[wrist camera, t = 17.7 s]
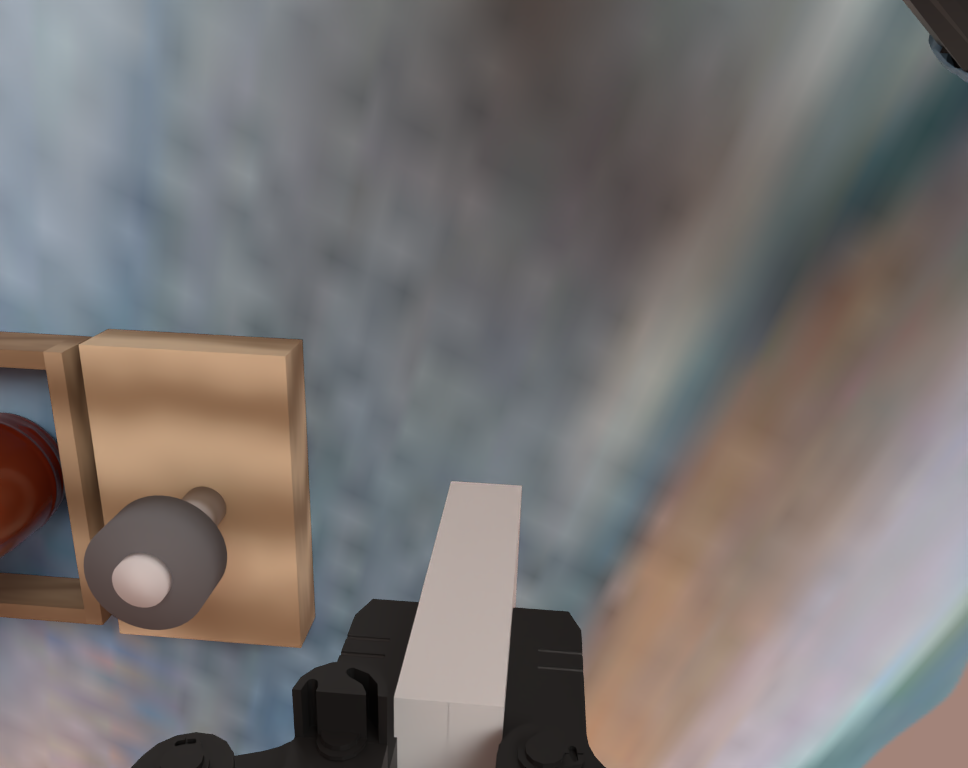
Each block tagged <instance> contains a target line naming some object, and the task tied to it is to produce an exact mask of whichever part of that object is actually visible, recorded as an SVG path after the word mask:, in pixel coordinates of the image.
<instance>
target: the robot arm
mask: <svg viewBox="0 0 968 768" xmlns="http://www.w3.org/2000/svg"><path fill="white" fill-rule="evenodd" d="M903 1H904V3H905V4H906V5H907V6H908V8H909V9H910V10H911V11H912V13H913V14H914V15H915V16H916V18H917V19H918V20H919V21H920V23H921V24H922V25H923V26H924V27H925V29H926V30H927V31H928V32H929V34H930V35H929V44H930V47H931V49H932V50H933V52H934V54H935V55H936V57H937V58H938V60H939V61H940V62H941V64H942V65H943V66H944V67H945V68H946V69H948V70H949V71H950V72H951V73H954V74H956V75H958V76H959V77H960V78H961V79H963V80H964V81H965V82H968V0H903ZM521 492H522V486H517V485H502V484H486V483H471V482H456V481H451V484H450V488H449V492H448V495H447V499H446V503H445V507H444V510H443V514H442V518H441V522H440V526H439V529H438V533H437V537H436V541H435V544H434V548H433V552H432V556H431V559H430V563H429V567H428V571H427V574H426V578H425V582H424V586H423V590H422V593H421V597H420V601H419V602H408V601H394V600H381V599H372V600H371V601H370V602H369V603H368V604H367V605H366V606H365V607H364V608H363V609H361V610H360V611H359V612H358V613H357V614H356V615H355V617H354V620H353V622H352V625H351V627H350V630H349V633H348V637H347V639H346V640H345V643H344V646H343V648H342V651H341V655H340V656H339V659H338V661H337V662H332V663H329V664H326V665H323V666H319V667H316V668H314V669H313V670H311V671H310V672H308V673H307V674H305V675H304V676H302V677H301V678H300V679H299V681H298V682H297V683H296V685H295V686H294V687H293V689H292V696H293V713H294V729H295V738H294V740H293V741H291V742H289V743H286V744H284V745H282V746H280V747H277V748H273V749H269V750H266V751H261V752H255V753H249V754H244V755H238V756H234V753H233V751H232V750H231V748H230V746H229V745H228V743H227V742H226V741H224V740H223V739H221V738H219V737H217V736H215V735H213V734H205V733H197V732H195V733H189V734H183V735H177V736H175V737H172V738H170V739H168V740H165V741H163V742H161V743H158V744H157V745H156V746H154V747H153V748H152V749H151V750H149V751H148V752H147V753H145V754H144V755H143V756H142V757H141V758H140V759H139V760H138V761H137V762H136V763H135V764H134V765H133V766H132V767H131V768H606V767H604V766H603V765H602V764H601V763H600V762H599V760H598V759H597V758H596V757H595V756H594V754H593V752H592V750H591V749H590V747H589V744H588V740H587V735H586V716H585V696H584V676H583V657H582V637H581V630H580V628H579V627H578V625H577V624H576V622H575V621H574V619H573V618H572V616H571V615H570V613H569V612H566V611H553V610H539V609H526V608H515V603H516V586H517V568H518V549H519V530H520V511H521Z"/></svg>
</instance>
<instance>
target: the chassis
mask: <svg viewBox="0 0 968 768" xmlns="http://www.w3.org/2000/svg"><path fill="white" fill-rule="evenodd" d="M0 367H8V368H25V369H42V370H46V373H47V379H48V386H49V392H50V398H51V404H52V411H53V417H54V423H55V429H56V436H57V442H58V448H59V454H60V461H61V467H62V473H63V479H64V486H65V492H66V498H67V504H68V511H69V517H70V523H71V529H72V536H73V542H74V548H75V554H76V561H77V567H78V573H79V579H78V578H64V577H51V576H38V575H25V574H12V573H0V617H8V618H21V619H33V620H46V621H58V622H71V623H83V624H96V625H103V624H104V623H105V622H106V621H107V620H108V618H109V617H110V616H111V615H112V614H110V613H109V612H108V611H107V610H106V609H105V608H104V607H102V606H101V604H100V603H99V602H98V601H97V600H96V598H95V597H94V595H93V594H92V592H91V590H90V589H89V587H88V584H87V581H86V578H85V574H84V566H83V564H84V556H85V551H86V549H87V546H88V544H89V543H90V541H91V539H92V538H93V537H94V536H95V535H96V534H97V533H98V532H99V531H100V530H101V529H102V528H103V527H104V526H105V525H106V524H107V523H108V522H109V521H110V520H111V519H112V518H113V517H115V516H116V515H117V514H118V513H119V512H120V511H121V510H122V509H123V508H124V507H125V506H127V505H128V504H129V503H131V502H133V501H134V500H137V499H139V498H143V497H147V496H154V495H163V496H171V497H175V498H179V499H181V500H184V501H187V502H189V503H191V504H193V505H194V506H196V507H197V508H199V509H200V510H202V511H203V512H204V513H205V514H207V515H208V516H209V517H210V518H211V519H212V521H213V522H214V523H215V524H216V526H217V527H218V529H219V530H220V532H221V534H222V536H223V538H224V541H225V544H226V549H227V565H226V569H225V572H224V575H223V577H222V579H221V580H220V581H219V583H218V584H217V586H216V587H215V589H214V590H213V592H212V593H211V595H210V596H209V597H208V599H207V600H206V602H205V603H204V605H203V606H202V608H201V609H200V611H199V612H198V613H197V614H196V615H195V616H194V617H193V618H192V619H191V620H189V621H188V622H187V623H185V624H183V625H181V626H178V627H175V628H171V629H166V630H149V629H143V628H139V627H135V626H132V625H130V624H127V623H125V622H123V621H121V620H119V619H118V623H119V629H120V633H122V634H134V635H147V636H159V637H171V638H184V639H196V640H209V641H221V642H234V643H246V644H259V645H271V646H284V647H296V648H301V647H302V645H303V642H304V640H305V638H306V636H307V634H308V632H309V629H310V627H311V625H312V623H313V621H314V618H315V603H314V581H313V559H312V537H311V516H310V494H309V472H308V450H307V429H306V407H305V385H304V364H303V342H302V340H299V339H281V338H263V337H245V336H226V335H208V334H190V333H172V332H153V331H135V330H117V329H107V330H105V331H104V332H102V333H100V334H98V335H96V336H94V337H88V336H70V335H52V334H34V333H16V332H0Z"/></svg>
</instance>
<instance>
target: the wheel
mask: <svg viewBox="0 0 968 768" xmlns="http://www.w3.org/2000/svg"><path fill="white" fill-rule="evenodd" d="M226 565H227V549H226V544H225V541H224V538H223V536H222V534H221V532H220V530H219V529H218V527H217V526H216V524H215V523H214V522H213V521H212V519H211V518H210V517H209V516H208V515H207V514H205V513H204V512H203V511H202V510H200V509H199V508H197V507H196V506H194V505H193V504H191V503H189V502H187V501H184V500H181V499H179V498H175V497H171V496H163V495H154V496H147V497H143V498H139V499H137V500H134V501H133V502H131V503H129V504H128V505H127V506H125V507H124V508H123V509H122V510H121V511H120V512H119V513H118V514H117V515H116V516H115V517H113V518H112V519H111V520H110V521H109V522H108V523H107V524H106V525H105V526H104V527H103V528H102V529H101V530H100V531H99V532H98V533H97V534H96V535H95V536H94V537H93V538H92V539H91V541H90V543H89V544H88V546H87V549H86V551H85V556H84V564H83V566H84V574H85V578H86V581H87V584H88V587H89V589H90V590H91V592H92V594H93V595H94V597H95V598H96V600H97V601H98V602H99V603H100V604H101V606H102V607H104V608H105V609H106V610H107V611H108V612H109V613H110V614H112V615H113V616H115V617H116V618H118V619H119V620H121V621H123V622H125V623H127V624H130V625H132V626H135V627H139V628H143V629H149V630H166V629H171V628H175V627H178V626H181V625H183V624H185V623H187V622H188V621H189V620H191V619H192V618H193V617H194V616H195V615H196V614H197V613H198V612H199V611H200V609H201V608H202V606H203V605H204V603H205V602H206V600H207V599H208V597H209V596H210V595H211V593H212V592H213V590H214V589H215V587H216V586H217V584H218V583H219V581H220V580H221V579H222V577H223V575H224V572H225V569H226Z"/></svg>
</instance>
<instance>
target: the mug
mask: <svg viewBox="0 0 968 768" xmlns="http://www.w3.org/2000/svg"><path fill="white" fill-rule="evenodd" d="M65 495H66V492H65V486H64V479H63V473H62V467H61V461H60V454H59V448H58V444H57V442H56V441H55V440H54V439H53V438H52V436H51V435H50V434H49V433H48V432H46V431H45V430H44V429H43V428H42V427H40V426H39V425H37V424H36V423H34V422H32V421H30V420H28V419H26V418H24V417H21V416H18V415H15V414H10V413H0V559H1V558H2V557H3V556H5V555H6V554H7V553H9V552H10V551H11V550H13V549H14V548H15V547H17V546H18V545H19V544H20V543H22V542H23V541H24V540H25V539H27V538H28V537H29V536H30V535H31V534H32V533H34V532H35V531H37V530H38V529H40V528H41V527H42V526H43V525H44V524H46V522H47V521H48V520H49V519H50V517H51V516H52V515H53V514H54V513H55V511H56V510H57V509H58V507H59V505H60V504H61V502H62V501H63V499H64V498H65Z"/></svg>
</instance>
